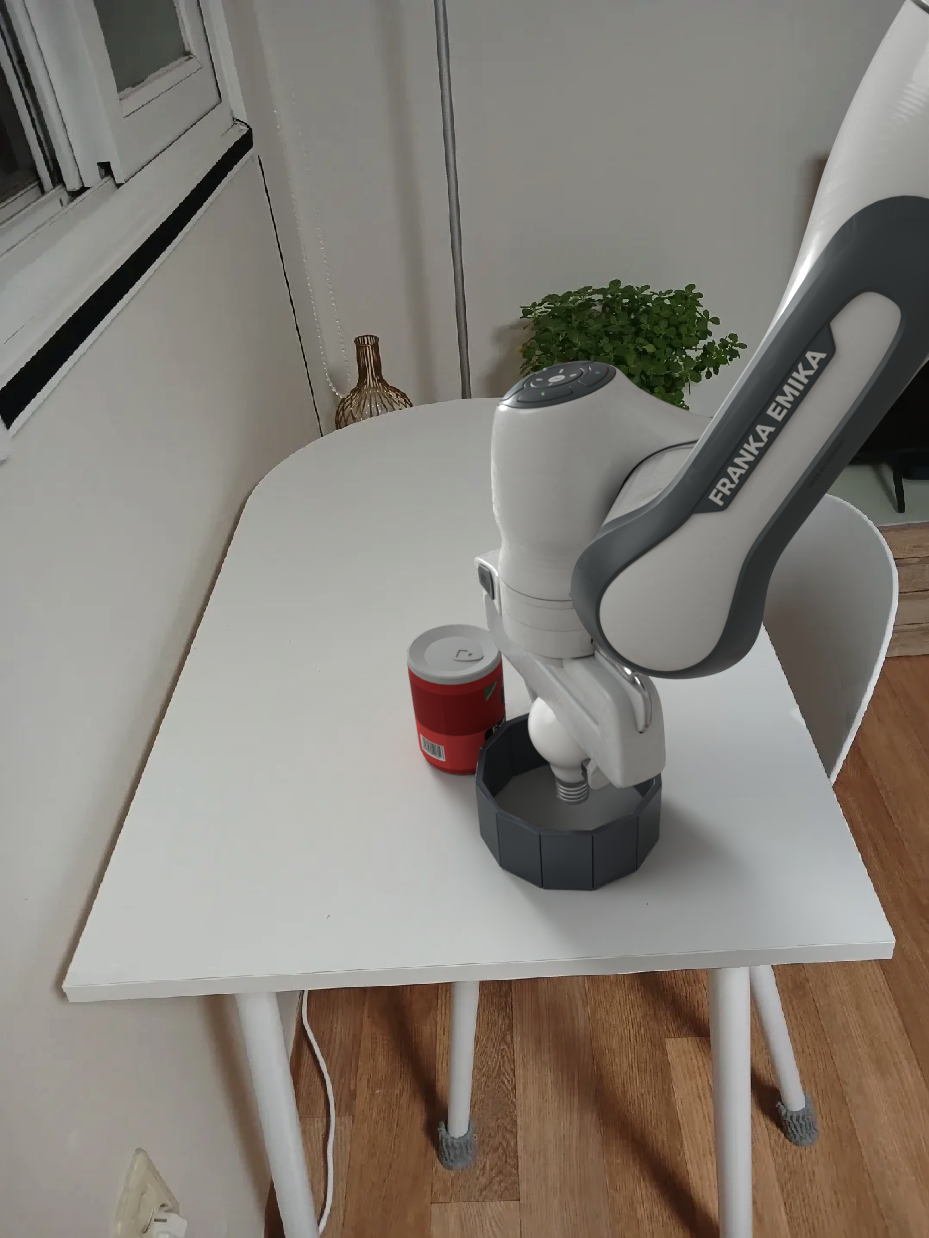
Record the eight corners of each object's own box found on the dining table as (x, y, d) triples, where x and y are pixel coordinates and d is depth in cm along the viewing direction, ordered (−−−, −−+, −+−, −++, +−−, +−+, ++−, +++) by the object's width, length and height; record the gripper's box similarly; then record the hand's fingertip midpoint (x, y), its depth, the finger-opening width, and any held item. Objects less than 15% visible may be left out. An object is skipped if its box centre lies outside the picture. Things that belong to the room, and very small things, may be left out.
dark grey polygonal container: (693, 846, 74) (698, 792, 71) (531, 917, 70) (528, 862, 66) (599, 738, 85) (599, 686, 82) (454, 794, 81) (448, 741, 77)
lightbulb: (609, 768, 78) (608, 662, 72) (617, 826, 73) (617, 718, 67) (532, 772, 79) (524, 667, 72) (534, 830, 74) (526, 722, 67)
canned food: (508, 775, 82) (501, 676, 76) (416, 779, 83) (402, 680, 76) (507, 717, 88) (501, 620, 82) (422, 720, 89) (409, 624, 83)
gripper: (694, 666, 58) (685, 824, 66) (537, 526, 74) (545, 667, 82) (604, 700, 56) (606, 858, 64) (463, 549, 72) (479, 691, 80)
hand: (571, 750), depth 73 cm, fingers closed on lightbulb, 6 cm apart
